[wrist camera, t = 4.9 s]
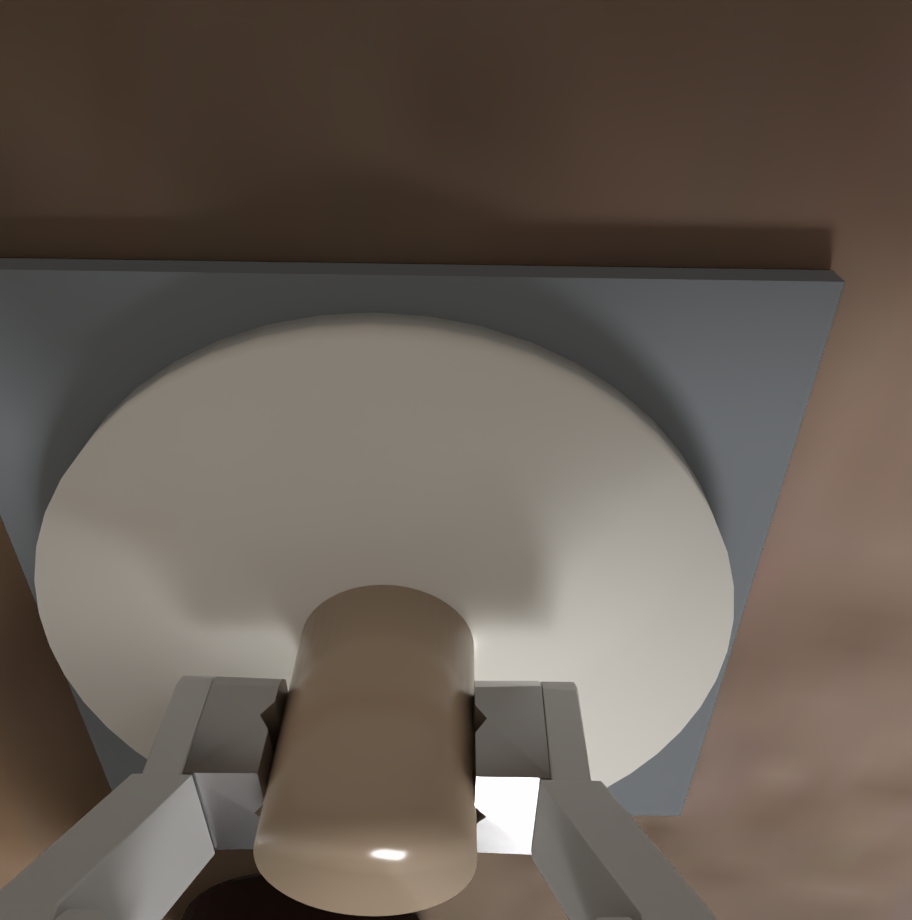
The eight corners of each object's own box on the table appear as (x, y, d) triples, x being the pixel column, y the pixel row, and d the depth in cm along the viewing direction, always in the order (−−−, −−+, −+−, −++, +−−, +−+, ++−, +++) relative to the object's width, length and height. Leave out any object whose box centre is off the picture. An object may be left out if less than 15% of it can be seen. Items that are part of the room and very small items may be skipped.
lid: (794, 315, 10) (967, 524, 7) (664, 800, 17) (719, 1042, 13) (-47, 309, 10) (-312, 514, 7) (141, 796, 17) (54, 1035, 13)
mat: (832, 270, 10) (844, 282, 10) (676, 798, 17) (680, 816, 17) (-83, 256, 10) (-100, 268, 10) (125, 791, 17) (118, 807, 17)
